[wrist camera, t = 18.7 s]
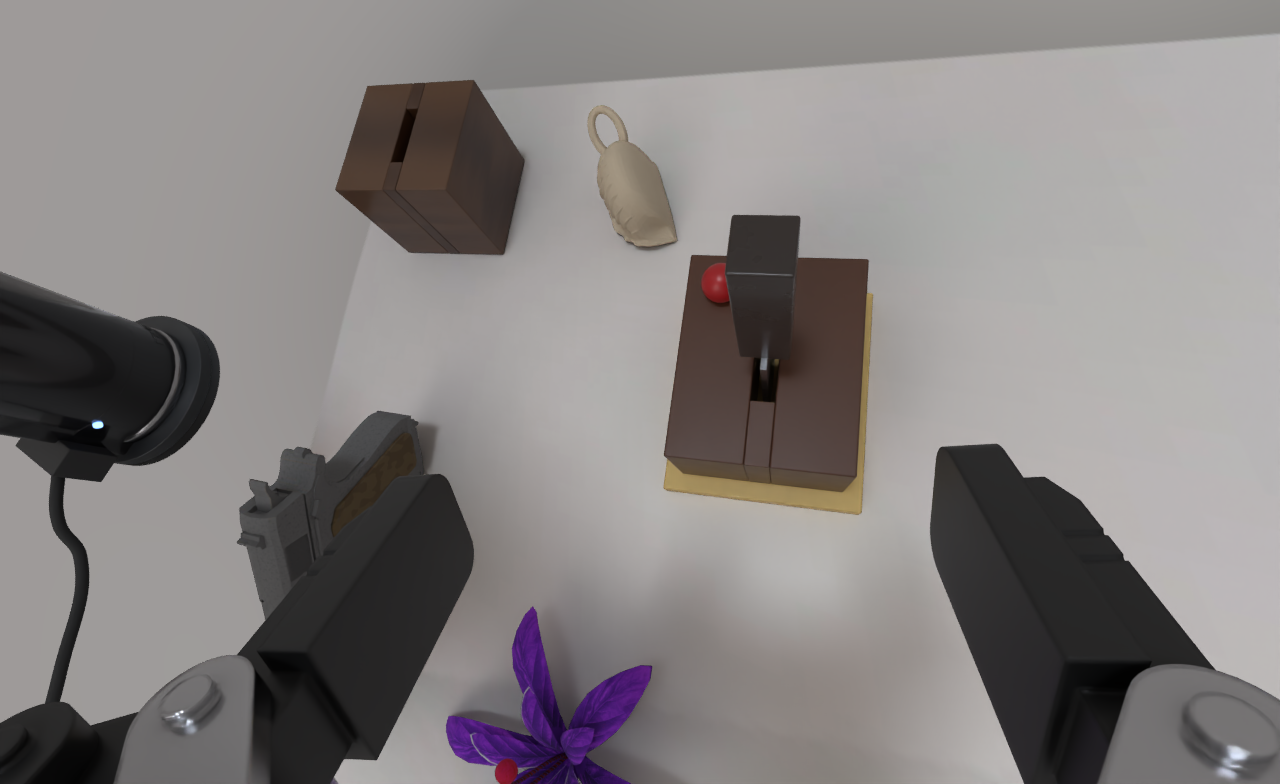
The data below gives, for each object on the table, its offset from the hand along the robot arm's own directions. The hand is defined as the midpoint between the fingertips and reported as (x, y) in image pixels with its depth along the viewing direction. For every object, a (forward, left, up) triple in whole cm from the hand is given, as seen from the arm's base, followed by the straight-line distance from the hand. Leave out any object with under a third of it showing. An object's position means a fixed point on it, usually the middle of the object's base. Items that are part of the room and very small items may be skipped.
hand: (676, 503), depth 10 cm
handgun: (-13, +20, -26) cm, 35 cm away
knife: (+9, +3, -24) cm, 26 cm away
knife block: (+13, +30, -25) cm, 41 cm away
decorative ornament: (+18, +17, -26) cm, 35 cm away
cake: (+9, +3, -25) cm, 27 cm away
